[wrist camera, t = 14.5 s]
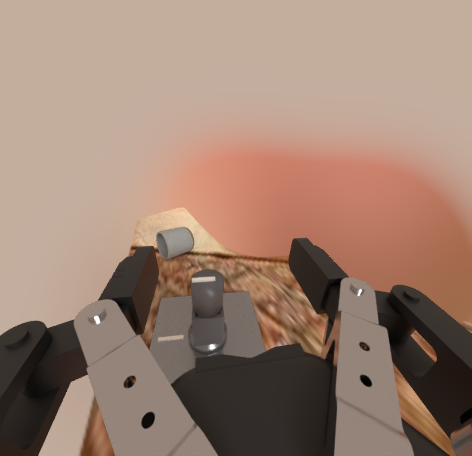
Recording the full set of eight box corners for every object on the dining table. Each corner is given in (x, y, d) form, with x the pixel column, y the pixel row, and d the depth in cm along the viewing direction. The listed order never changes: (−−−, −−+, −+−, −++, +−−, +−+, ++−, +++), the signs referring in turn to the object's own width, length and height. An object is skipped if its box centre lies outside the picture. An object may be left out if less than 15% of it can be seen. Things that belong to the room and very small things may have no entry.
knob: (220, 317, 35) (222, 267, 30) (223, 342, 31) (225, 289, 26) (194, 320, 34) (191, 268, 29) (193, 346, 30) (189, 291, 25)
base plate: (248, 295, 43) (250, 276, 41) (275, 393, 27) (281, 372, 25) (162, 302, 40) (158, 282, 38) (136, 416, 24) (128, 395, 22)
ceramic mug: (196, 253, 56) (195, 229, 53) (169, 265, 51) (166, 239, 48) (178, 239, 63) (175, 217, 59) (152, 248, 58) (148, 224, 54)
